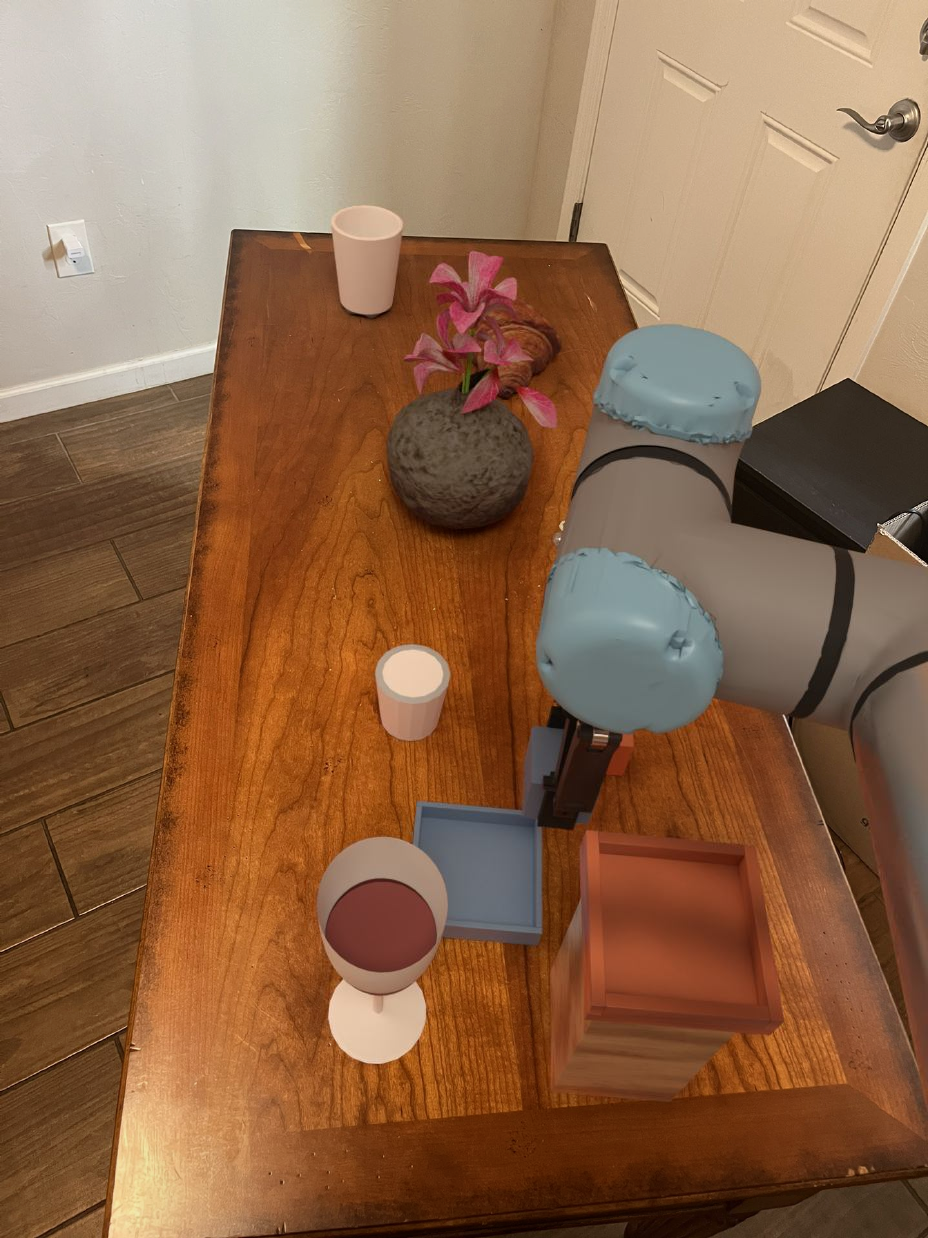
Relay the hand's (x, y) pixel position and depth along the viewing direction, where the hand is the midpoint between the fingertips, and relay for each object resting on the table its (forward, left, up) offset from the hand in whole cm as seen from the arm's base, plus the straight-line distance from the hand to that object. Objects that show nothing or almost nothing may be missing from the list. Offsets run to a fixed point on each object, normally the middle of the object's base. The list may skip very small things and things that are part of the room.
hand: (555, 790), depth 72 cm
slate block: (0, 0, 0) cm, 0 cm away
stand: (-14, -6, -13) cm, 20 cm away
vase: (+45, +9, -13) cm, 48 cm away
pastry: (+77, +4, -13) cm, 78 cm away
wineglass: (-13, +12, -13) cm, 22 cm away
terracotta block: (+12, -6, -13) cm, 19 cm away
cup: (+86, +25, -13) cm, 91 cm away
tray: (-2, +5, -13) cm, 14 cm away
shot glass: (+14, +12, -13) cm, 23 cm away
